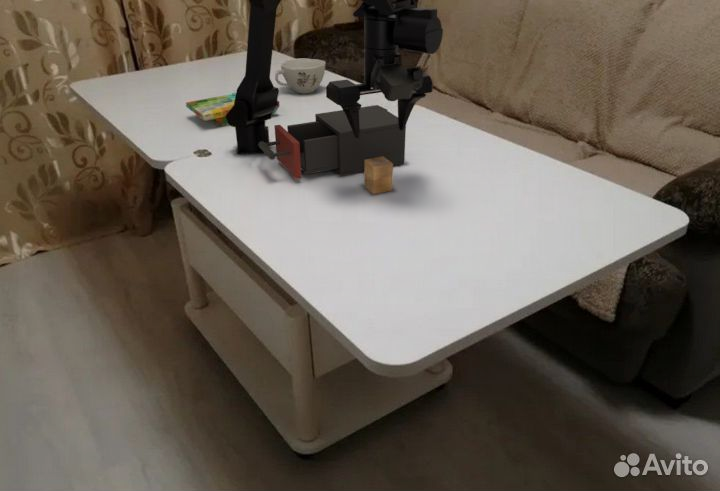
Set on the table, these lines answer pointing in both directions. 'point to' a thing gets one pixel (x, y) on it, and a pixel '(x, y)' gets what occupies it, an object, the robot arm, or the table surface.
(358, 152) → the drawer cabinet casing
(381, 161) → the oak block
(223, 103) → the puzzle game
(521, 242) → the table surface
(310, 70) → the teacup
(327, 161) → the red-fronted drawer
